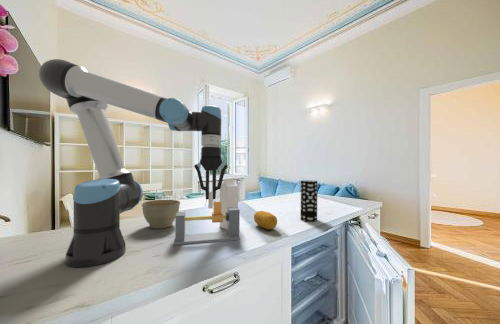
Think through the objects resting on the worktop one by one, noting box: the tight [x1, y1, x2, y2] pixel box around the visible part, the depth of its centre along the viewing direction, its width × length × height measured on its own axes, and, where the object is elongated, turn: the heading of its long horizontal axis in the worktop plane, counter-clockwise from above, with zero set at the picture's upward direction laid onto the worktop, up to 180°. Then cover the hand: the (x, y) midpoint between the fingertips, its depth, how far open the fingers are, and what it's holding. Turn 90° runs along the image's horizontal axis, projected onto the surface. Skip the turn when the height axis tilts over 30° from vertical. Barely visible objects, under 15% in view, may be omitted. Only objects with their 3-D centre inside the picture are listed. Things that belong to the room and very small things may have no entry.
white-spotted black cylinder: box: [300, 180, 318, 223], centre depth 110 cm, size 8×8×20 cm
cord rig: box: [173, 206, 241, 246], centre depth 82 cm, size 24×8×11 cm, turn 104°
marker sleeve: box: [211, 200, 223, 223], centre depth 83 cm, size 4×3×8 cm
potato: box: [253, 210, 278, 231], centre depth 96 cm, size 7×14×7 cm, turn 26°
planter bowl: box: [141, 199, 181, 229], centre depth 97 cm, size 16×16×11 cm
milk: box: [219, 177, 239, 230], centre depth 97 cm, size 6×6×22 cm
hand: (210, 207), depth 82 cm, fingers closed
